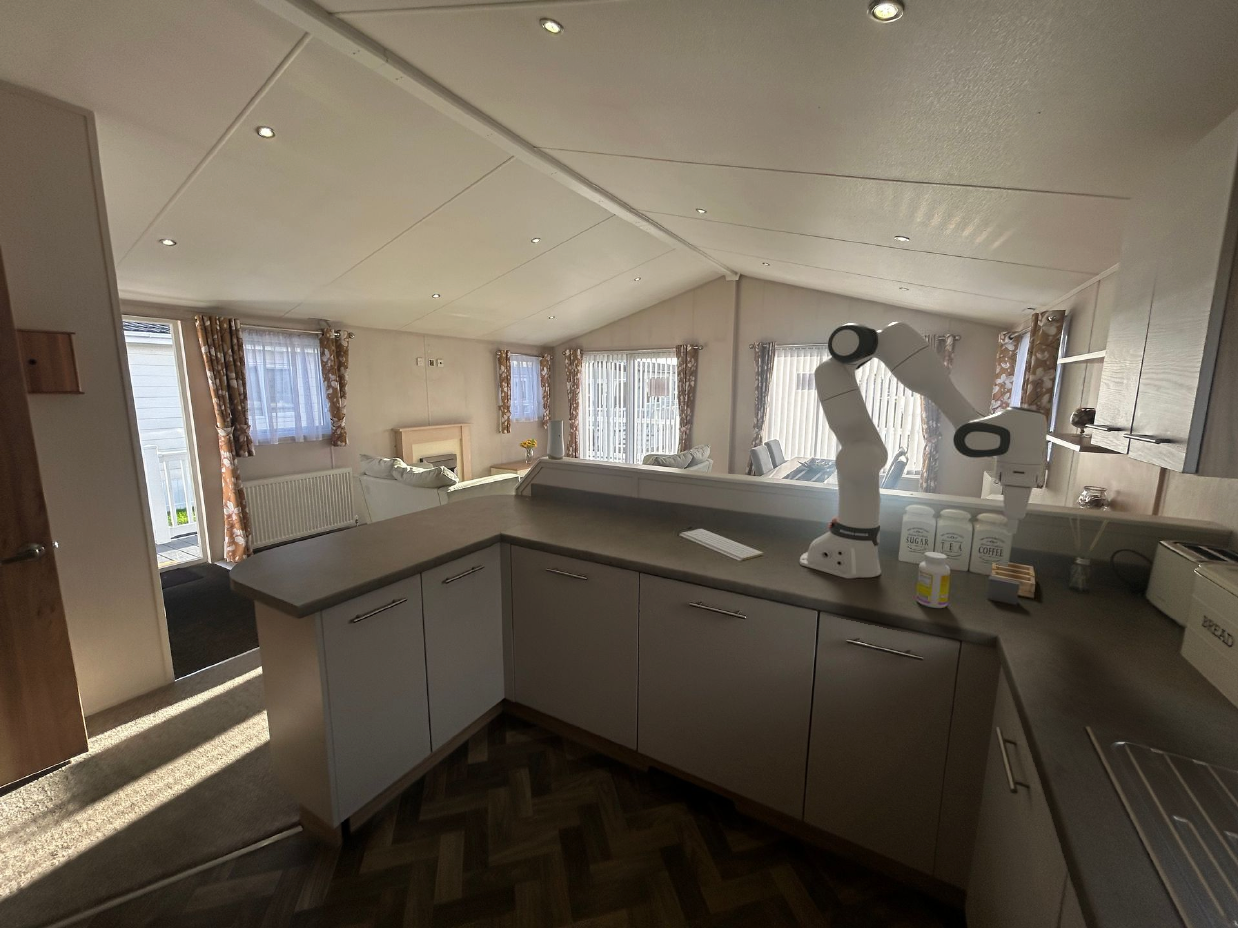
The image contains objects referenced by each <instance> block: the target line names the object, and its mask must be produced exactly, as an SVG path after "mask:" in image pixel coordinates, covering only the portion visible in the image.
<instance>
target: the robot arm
mask: <svg viewBox="0 0 1238 928" xmlns="http://www.w3.org/2000/svg"><path fill="white" fill-rule="evenodd" d="M827 349H828V353H829V354H830V356H831V357H829V358H828V359H827V360H824V361H822V362H821V363H819V365H817V367H816V368H815V370H814V373H813V377H814V384H815V389H816V392H817V397H818V399H819V403H820V406H821V408H822V411H823V414H824V417H825V420H826V422H827V425H828V428H829V429H830V430H831V432H832V433H833V435H834V436H835V437H836V440H837V441H838V443H839V445H840V447H841V448H840V449H839V451H838V453H837V455H836V457H835V465H834V466H835V469H836V479H837V488H838V489H837V490H838V504H837V505H838V507H837V517H834V518H832V519H831V521H830V523H829V524H828V525H829V526H828V529H829V531H828V532H826V533H824V534H822V535H820V536H818V537H817V538H815V539H814V540H813V541H811V543H810V545H809V547H808V550H807V552H805V553H803V554H802V555H801V556H800V558H799V565H800V566H804V567H807V568H810V569H814V570H817V571H821V572H824V573H827V574H831V575H834V576H837V577H840V578H844V579H856V578H874V577H878V576H880V575H881V574H882V570H881V566H880V558H879V547H878V546H879V543H880V539H881V525H880V524H879V523H880V513H881V512H880V511H881V504H882V503H881V502H882V501H881V500H882V498H881V492H880V472H881V470H883V469H884V467H885V466H886V465H887V463H888V458H889V454H888V450H887V447H886V445H885V443H884V440H883V439H882V437H881V434H880V432H879V431H878V429H877V427H876V424H874V421H873V420H872V418H871V416H870V412H869V410H868V407H867V406H866V402H865V399H864V396H863V394H862V391H861V389H860V385H859V383H858V381H857V378H856V371H857V370H859V369H861V367H863V366H864V365H865V364H867V363H868V362H870V361H871V360H873V359H874V358H875V359H877V360H878V361H880V362H881V363H883V364H884V366H885V367H886V368H887V369H888V371H889V373H890V374H892V375H893V376H894V378H896V380H897V381H898V382H899V383H900V384H902V385H903V386H904V387H905V388H906V389H907V390H908V391H911V392H913V393H915V394H917V395H921V396H923V397H925V398H926V399H927V400H929V401H930V402H932V403H933V404H934V405H935V406H936V407H937V409H938V410H939V411H940V412H941V413H942V414H943V416H944V417H945V418H946V419H947V420H948V422H950V424H951V425H952V426H953V428H954V431H955V432H954V434H953V437H952V438H953V439H952V441H953V445H954V447H955V450H957V452H959V453H960V454H962V455H963V456H965V457H967V458H971V459H983V458H988V457H996V463H995V471H994V479H995V480H997V481H998V482H999V484H1000V485H999V486H1000V487H1001V488H1002V495H1003V496H1002V499H1003V514H1004V517H1005V518H1006V523H1007V525H1006V527H1007V528H1006V532H1007V533H1008V534H1017V530H1018V526H1019V521H1020V520H1021V519H1024V518H1025V516H1026V513H1027V509H1028V505H1029V502H1030V498H1031V495H1032V492H1033V491H1032V490H1033V489H1034V488H1036V487H1037V485H1038V484H1040V483H1041V481H1042V474H1043V468H1044V466H1043V465H1044V459H1043V452H1044V449H1045V447H1046V445H1047V436H1048V435H1047V434H1048V423H1047V417H1046V415H1045V414H1044V413H1043V412H1041V411H1039V410H1038V409H1033V408H1028V407H1022V406H1008V407H1006V408H1004V409H1003V410H1001V411H999V412H996V413H993V414H991V415H988V416H986V415H984V414H982V413H980V412H979V411H977V409H975V408H974V407H973V406H972V404H971V403H970V402H969V401H968V400H967V399H966V398H965V396H964V395H963V394H962V393H961V392H960V391H959V390H958V389H957V387H956V385H955V384H954V383H953V380H952V378H951V377H950V375H949V372H948V370H947V368H946V366H945V364H944V361H943V360H942V358H941V356H940V355H939V354H938V352H937V351H936V349H935V348H934V347H933V346H932V345H931V344H930V343H929V341H928V340H927V339H926V338H925V337H923V335H922V334H920V333H919V332H918V331H917V330H916V329H915V328H914V327H913V326H911V325H909V324H908V323H907V322H904V321H895V322H892V323H889V324H887V325H886V326H884V327H882V328H880V329H879V330H876V329H874V328H872V327H869V326H866V325H865V324H860V323H852V322H851V323H846V324H843V325H840V326H838V327H836V328H835V329H834V330H833V331H832V332H831V334H830V336H829V338H828V340H827Z"/></svg>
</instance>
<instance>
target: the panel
mask: <svg viewBox="0 0 1238 928" xmlns="http://www.w3.org/2000/svg"><path fill="white" fill-rule="evenodd" d="M987 586H988V587H987V595H986V600H991V601H996V602H1001V603H1005V604H1010V605H1013V606H1014V605H1016V606H1017V605H1018V599H1019V598H1018V597H1019V595H1018V591H1019V581H1014V580H1009V579H1004V578H999V577H993V576H991V575H989V578H988V585H987Z"/></svg>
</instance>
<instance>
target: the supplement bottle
mask: <svg viewBox="0 0 1238 928" xmlns="http://www.w3.org/2000/svg"><path fill="white" fill-rule="evenodd" d="M923 558H924V561H921V563H919V565H918V575H917V585H916V595H915V596H916V597H915V599H916V601H917V602H918V603H919V604H920V605H923V606H924V607H928V608H934V609H942V608H943V609H944V608H946V607H947V606H948V598H949V591H950V580H951V579H950V578H951V569H950V567H949V566H948V565H946V563H947V561H948V556H947V555H946V554H944V553H942V552H936V551H926V552H924V556H923Z"/></svg>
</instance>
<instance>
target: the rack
mask: <svg viewBox="0 0 1238 928" xmlns="http://www.w3.org/2000/svg"><path fill="white" fill-rule="evenodd" d="M990 576H993V577H999V578H1004V579H1009V580H1014V581H1019V591H1018V596H1022V597H1027V598H1031V599H1032V598H1033V599H1034V597H1035V589H1036V580H1035V577H1036V575H1035V571H1034V566H1033V565H1024V564H1019V563H1013V562H1008V567H1004V566H998V565H996V563H993V562H992V566H991V574H990Z"/></svg>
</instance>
